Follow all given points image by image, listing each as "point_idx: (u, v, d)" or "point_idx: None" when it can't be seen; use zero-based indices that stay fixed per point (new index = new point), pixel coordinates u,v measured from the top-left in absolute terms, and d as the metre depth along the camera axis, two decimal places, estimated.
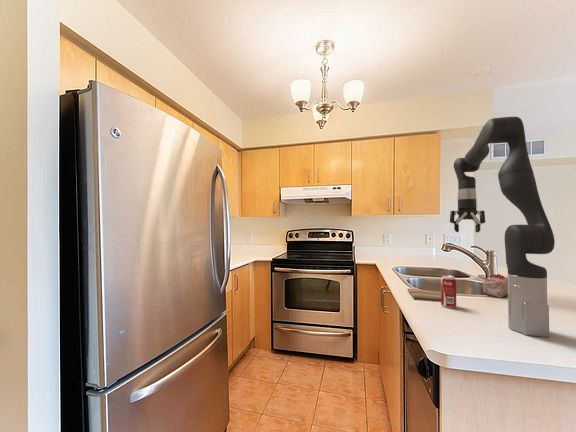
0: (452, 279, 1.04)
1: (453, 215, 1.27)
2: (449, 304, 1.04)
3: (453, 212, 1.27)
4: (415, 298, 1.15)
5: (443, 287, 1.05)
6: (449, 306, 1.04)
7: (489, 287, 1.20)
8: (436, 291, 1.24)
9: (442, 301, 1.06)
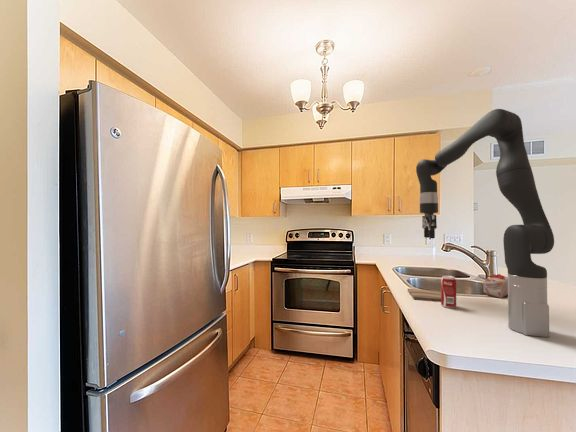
0: (452, 279, 1.04)
1: None
2: (449, 304, 1.04)
3: None
4: (415, 298, 1.15)
5: (443, 287, 1.05)
6: (449, 306, 1.04)
7: (490, 287, 1.20)
8: (436, 291, 1.24)
9: (442, 301, 1.06)
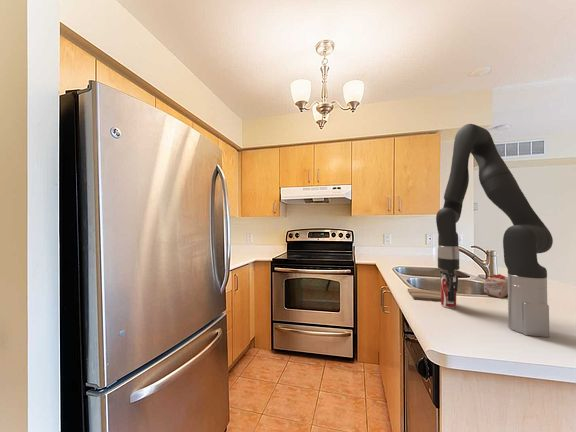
0: None
1: None
2: (449, 304, 1.04)
3: None
4: (415, 298, 1.15)
5: (443, 287, 1.05)
6: (449, 306, 1.04)
7: (490, 287, 1.20)
8: (436, 291, 1.24)
9: (442, 301, 1.06)
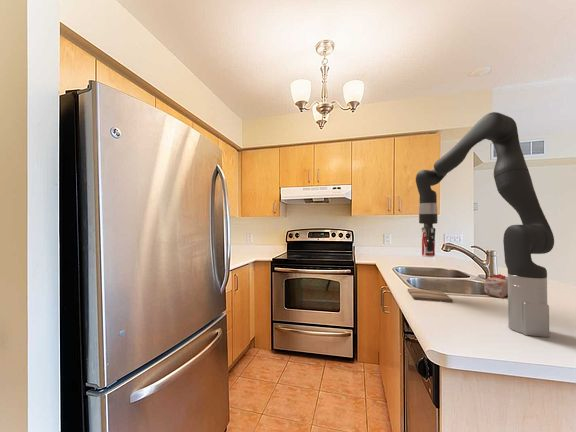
0: None
1: None
2: (428, 254, 1.19)
3: None
4: (415, 298, 1.15)
5: (423, 239, 1.20)
6: (428, 255, 1.19)
7: (491, 287, 1.20)
8: (436, 291, 1.24)
9: (422, 252, 1.21)
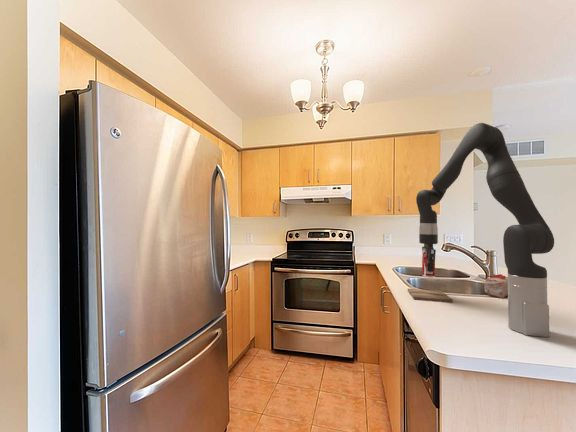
0: None
1: None
2: (429, 274, 1.18)
3: None
4: (415, 298, 1.15)
5: (423, 259, 1.20)
6: (428, 275, 1.18)
7: (491, 287, 1.20)
8: (436, 291, 1.24)
9: (423, 272, 1.21)
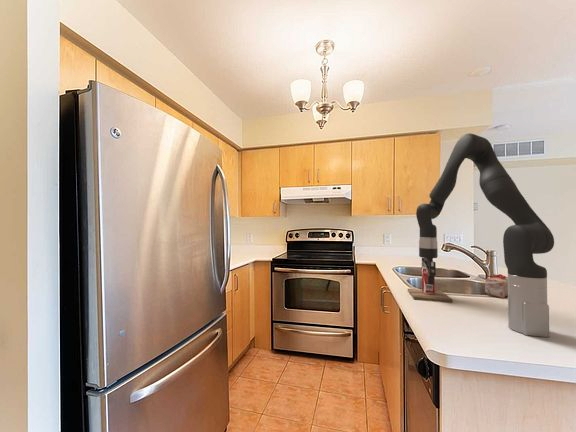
0: None
1: None
2: (428, 291, 1.18)
3: None
4: (415, 298, 1.15)
5: (423, 276, 1.20)
6: (428, 292, 1.18)
7: (492, 287, 1.20)
8: (436, 291, 1.24)
9: (422, 288, 1.21)
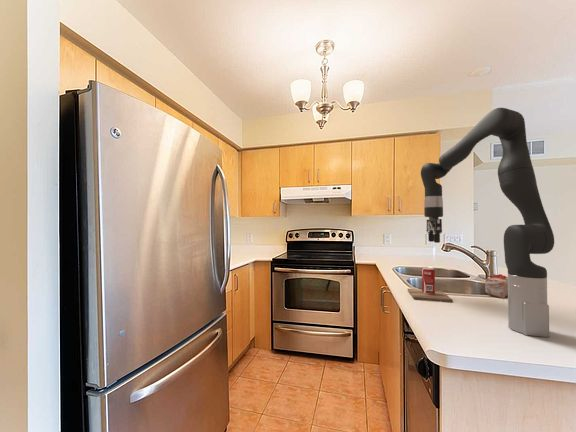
0: (431, 269, 1.19)
1: None
2: (428, 292, 1.18)
3: None
4: (415, 298, 1.15)
5: (423, 276, 1.20)
6: (428, 293, 1.18)
7: (492, 287, 1.20)
8: (436, 291, 1.24)
9: (423, 289, 1.21)
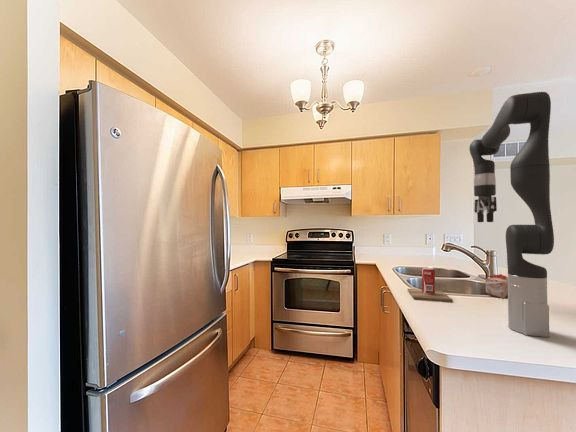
0: (431, 269, 1.19)
1: None
2: (428, 292, 1.18)
3: None
4: (415, 298, 1.15)
5: (423, 276, 1.20)
6: (428, 293, 1.18)
7: (492, 287, 1.20)
8: (436, 291, 1.24)
9: (423, 289, 1.21)
